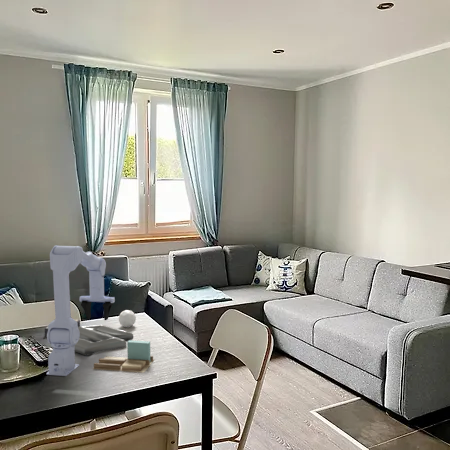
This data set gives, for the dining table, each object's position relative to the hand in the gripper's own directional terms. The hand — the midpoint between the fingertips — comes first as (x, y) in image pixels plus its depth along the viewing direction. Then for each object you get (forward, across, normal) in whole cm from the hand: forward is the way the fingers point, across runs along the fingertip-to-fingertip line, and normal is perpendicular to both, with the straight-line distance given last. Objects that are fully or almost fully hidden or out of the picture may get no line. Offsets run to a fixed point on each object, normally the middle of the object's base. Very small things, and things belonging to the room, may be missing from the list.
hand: (97, 319), depth 193 cm
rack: (+10, -20, +22) cm, 31 cm away
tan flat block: (+9, -24, +24) cm, 36 cm away
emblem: (+11, 0, +1) cm, 11 cm away
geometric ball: (+10, -4, -23) cm, 26 cm away
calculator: (+11, +22, -12) cm, 27 cm away
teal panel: (+9, -24, +19) cm, 32 cm away
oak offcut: (+8, -24, +24) cm, 36 cm away
